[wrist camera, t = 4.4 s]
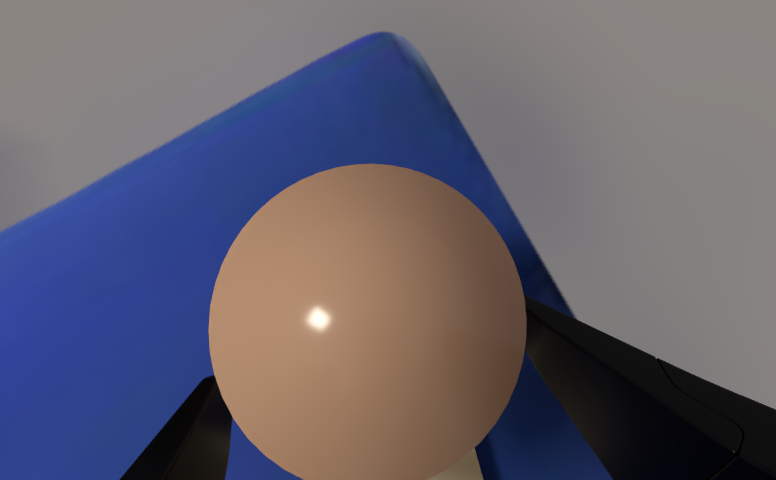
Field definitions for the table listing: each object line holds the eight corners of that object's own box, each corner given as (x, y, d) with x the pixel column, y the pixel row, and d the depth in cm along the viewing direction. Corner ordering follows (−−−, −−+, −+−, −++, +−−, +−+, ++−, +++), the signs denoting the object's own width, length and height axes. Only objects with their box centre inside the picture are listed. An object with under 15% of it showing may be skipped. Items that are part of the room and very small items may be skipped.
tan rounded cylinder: (427, 306, 18) (576, 271, 5) (377, 381, 16) (414, 584, 4) (360, 257, 18) (347, 116, 6) (306, 325, 17) (132, 341, 4)
